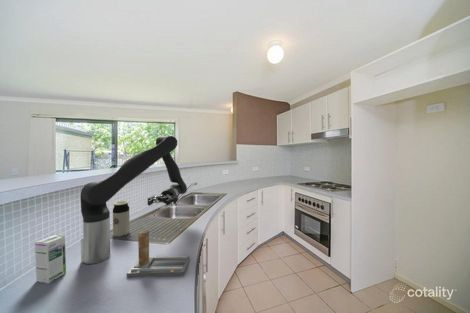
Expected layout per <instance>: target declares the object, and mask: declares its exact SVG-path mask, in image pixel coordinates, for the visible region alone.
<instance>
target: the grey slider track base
mask: <svg viewBox="0 0 470 313" xmlns="http://www.w3.org/2000/svg"><path fill="white" fill-rule="evenodd" d="M150 257H151V256H149V258H150ZM153 257H154V260H153V261H152V262H151V264H150V265H149V266H148V268H134V266H135V265H136V263H137V262H138V261H139V259H137V260H136V262H135V263H134V264H133V265H132V266H131V267H130V269H129V270H128V271H127V272H126V278H151V277H153V278H154V277H184V276H185V274H186V271H187V269H188V266H189V264H190V261H191V256H186V255H184V256H180V255H178V256H176V255H175V256H153Z"/></svg>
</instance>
